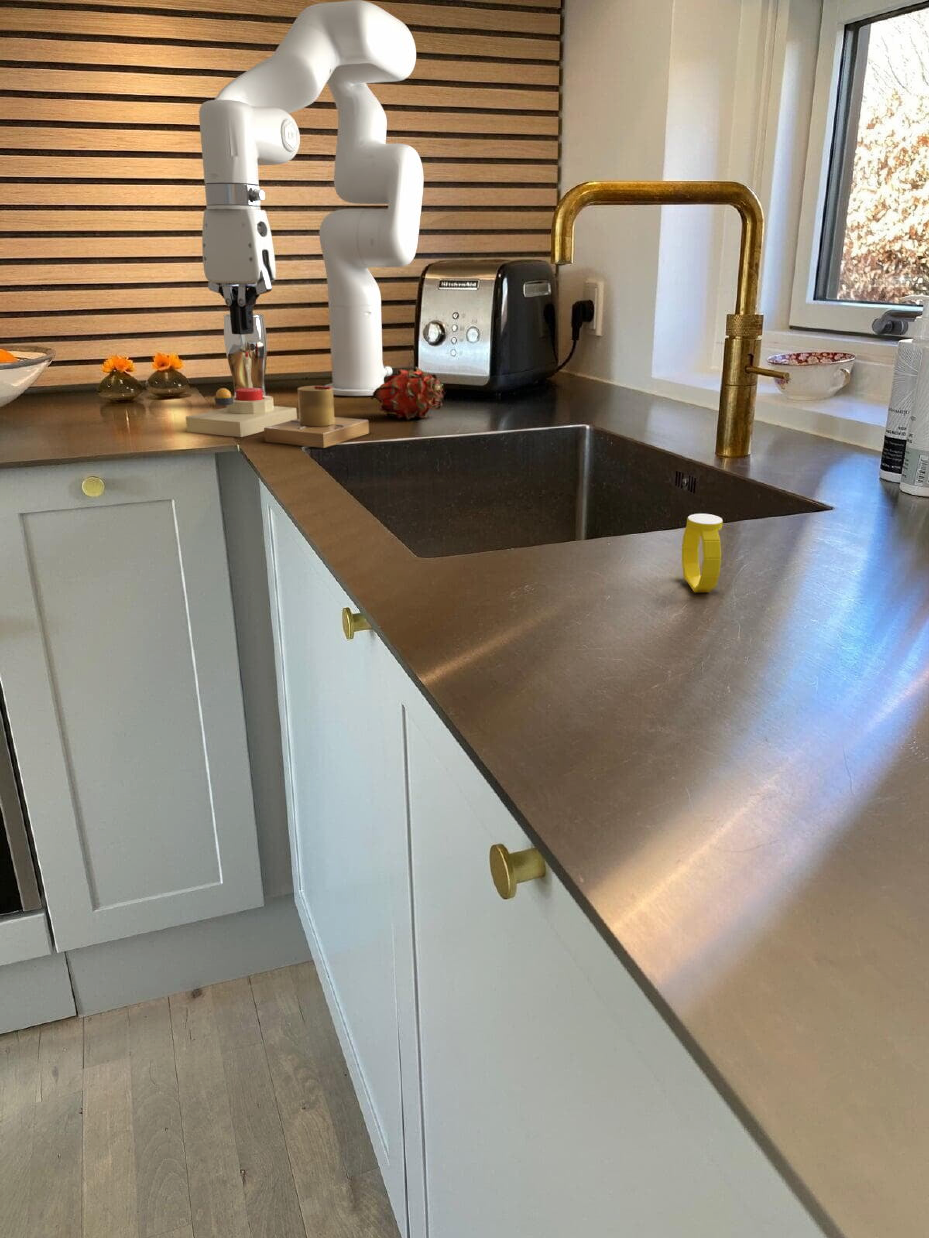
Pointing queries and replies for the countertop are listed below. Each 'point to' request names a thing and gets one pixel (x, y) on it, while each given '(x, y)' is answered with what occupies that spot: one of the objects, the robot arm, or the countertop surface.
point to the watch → (708, 531)
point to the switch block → (241, 418)
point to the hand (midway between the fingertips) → (242, 333)
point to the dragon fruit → (410, 394)
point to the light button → (249, 394)
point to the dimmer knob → (316, 405)
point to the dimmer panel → (316, 432)
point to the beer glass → (247, 354)
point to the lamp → (223, 397)
